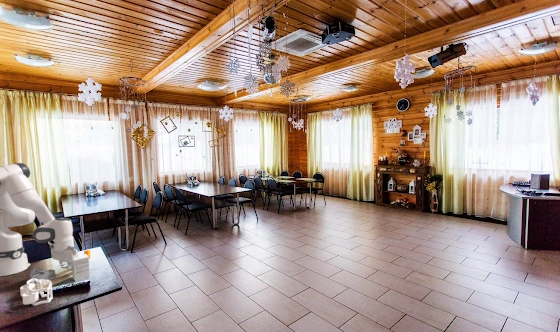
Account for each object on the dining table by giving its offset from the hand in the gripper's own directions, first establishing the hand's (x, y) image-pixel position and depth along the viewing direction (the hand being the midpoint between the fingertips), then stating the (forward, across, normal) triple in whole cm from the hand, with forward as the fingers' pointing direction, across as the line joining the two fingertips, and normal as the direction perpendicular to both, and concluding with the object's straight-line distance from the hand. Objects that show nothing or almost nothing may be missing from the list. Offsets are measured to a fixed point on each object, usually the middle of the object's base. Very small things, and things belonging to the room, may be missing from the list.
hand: (66, 268), depth 162 cm
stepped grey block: (+5, +8, +11) cm, 14 cm away
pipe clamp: (+6, +14, -16) cm, 22 cm away
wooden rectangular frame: (+5, 0, +5) cm, 7 cm away
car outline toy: (+6, -12, +20) cm, 24 cm away
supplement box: (+5, -10, -2) cm, 12 cm away
